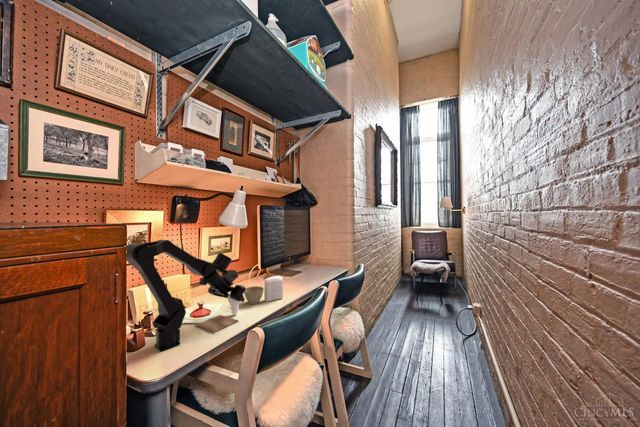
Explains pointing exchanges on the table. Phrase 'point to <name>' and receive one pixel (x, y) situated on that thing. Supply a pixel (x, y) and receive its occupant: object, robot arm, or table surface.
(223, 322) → the coaster
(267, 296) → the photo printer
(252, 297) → the flower pot
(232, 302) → the lightbulb
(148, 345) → the table surface
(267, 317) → the table surface
